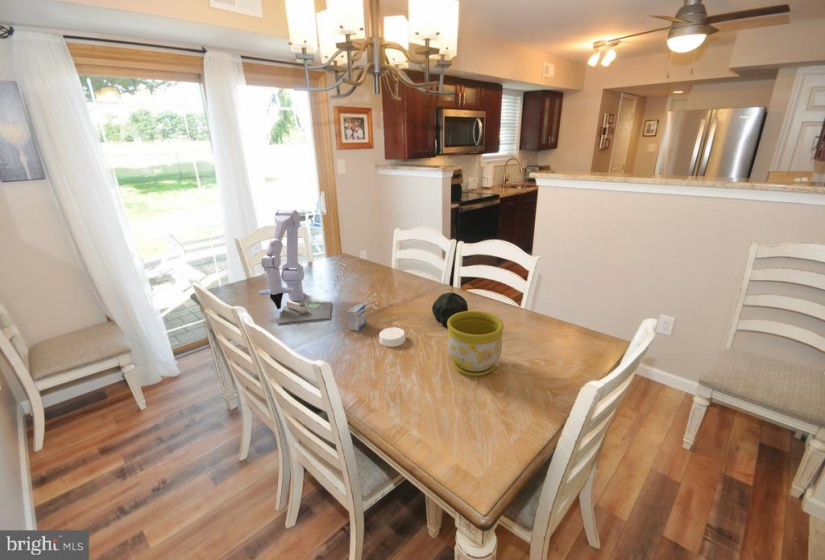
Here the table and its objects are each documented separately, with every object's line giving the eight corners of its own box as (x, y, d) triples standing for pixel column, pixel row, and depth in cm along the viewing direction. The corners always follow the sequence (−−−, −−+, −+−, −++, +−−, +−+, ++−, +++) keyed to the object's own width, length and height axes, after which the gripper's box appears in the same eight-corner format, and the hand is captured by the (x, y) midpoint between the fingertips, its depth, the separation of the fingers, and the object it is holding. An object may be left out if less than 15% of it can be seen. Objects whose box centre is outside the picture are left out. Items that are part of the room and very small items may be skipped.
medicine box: (358, 331, 148) (356, 312, 145) (348, 330, 149) (346, 311, 146) (366, 322, 155) (365, 304, 152) (357, 321, 156) (355, 303, 153)
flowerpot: (464, 346, 134) (465, 306, 129) (510, 362, 123) (513, 319, 118) (436, 368, 121) (436, 325, 116) (484, 389, 110) (486, 342, 105)
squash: (445, 298, 163) (435, 282, 151) (476, 306, 156) (468, 290, 144) (433, 327, 158) (422, 312, 146) (465, 336, 151) (456, 322, 139)
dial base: (284, 307, 172) (284, 305, 172) (331, 303, 175) (331, 301, 175) (277, 325, 155) (277, 322, 155) (329, 319, 159) (329, 317, 158)
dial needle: (309, 311, 164) (308, 303, 163) (302, 314, 161) (301, 307, 160) (291, 305, 171) (290, 298, 170) (284, 308, 168) (283, 300, 167)
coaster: (382, 349, 134) (381, 341, 133) (377, 336, 143) (377, 329, 142) (408, 345, 137) (408, 336, 136) (402, 333, 146) (401, 325, 145)
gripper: (255, 285, 158) (260, 313, 163) (289, 282, 160) (294, 310, 165) (259, 279, 165) (264, 307, 169) (292, 277, 167) (296, 304, 171)
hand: (279, 308), depth 167 cm, fingers closed
